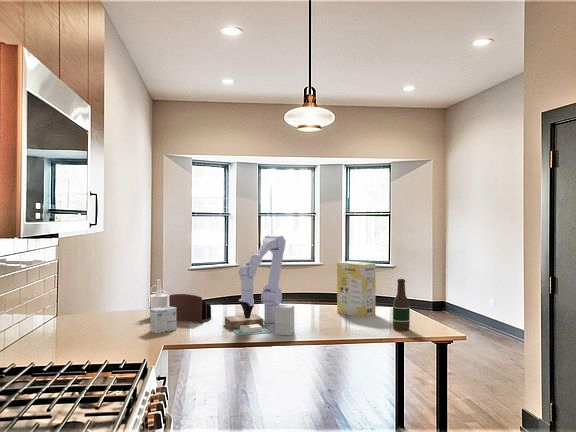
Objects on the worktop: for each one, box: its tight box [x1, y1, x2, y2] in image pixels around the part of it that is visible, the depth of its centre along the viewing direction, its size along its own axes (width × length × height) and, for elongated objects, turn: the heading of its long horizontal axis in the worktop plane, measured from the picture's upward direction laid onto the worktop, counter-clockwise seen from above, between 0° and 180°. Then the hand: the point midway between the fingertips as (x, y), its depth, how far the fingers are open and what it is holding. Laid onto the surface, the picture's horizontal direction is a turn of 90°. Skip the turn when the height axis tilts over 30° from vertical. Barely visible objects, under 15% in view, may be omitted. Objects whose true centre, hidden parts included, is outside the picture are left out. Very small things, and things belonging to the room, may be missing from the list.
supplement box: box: [274, 304, 296, 336], centre depth 232 cm, size 7×7×13 cm
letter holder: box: [169, 293, 212, 324], centre depth 262 cm, size 10×20×14 cm, turn 68°
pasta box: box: [336, 260, 376, 319], centre depth 277 cm, size 18×10×28 cm, turn 44°
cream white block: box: [240, 324, 262, 333], centre depth 237 cm, size 9×6×2 cm, turn 112°
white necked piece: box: [149, 279, 170, 309], centre depth 270 cm, size 10×9×20 cm
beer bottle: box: [392, 278, 411, 332], centre depth 240 cm, size 8×8×24 cm
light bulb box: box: [149, 305, 178, 334], centre depth 238 cm, size 11×7×11 cm, turn 134°
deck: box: [224, 313, 264, 331], centre depth 248 cm, size 16×12×4 cm
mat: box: [231, 326, 272, 337], centre depth 236 cm, size 16×11×1 cm
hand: (247, 318), depth 242 cm, fingers closed
